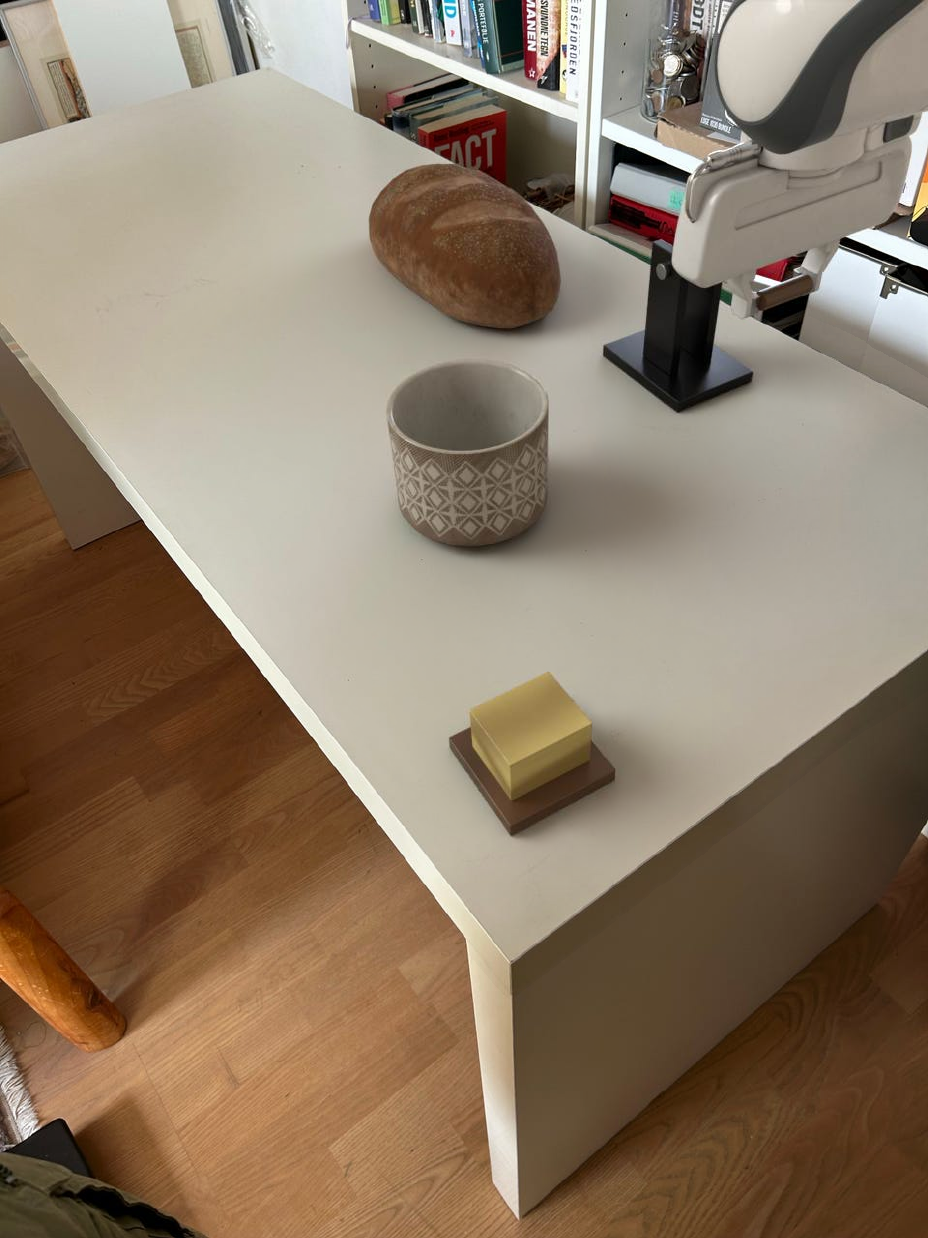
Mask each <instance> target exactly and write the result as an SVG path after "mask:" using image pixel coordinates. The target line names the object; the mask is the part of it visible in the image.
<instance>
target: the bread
mask: <svg viewBox="0 0 928 1238" xmlns="http://www.w3.org/2000/svg"><path fill="white" fill-rule="evenodd" d="M368 234H369V235H368V236H369V241H370V244H371V247H372V250H373V252H374V255H375V257H376V259H377V260H378V261H379V263H380V264H381V265H382V266H383V267H384V268H385V269H386V270H387V272H389V273H390V274H391V275H392V276H393V277H394V278H395V279H396V280H397V281H399V283H401V284H402V285H403V286H405V288H407V289H409V290H410V291H412V292H413V293H415V294H416V295H417V296H418V297H420V298H422V299H423V300H425V301H426V302H428V303H429V304H431V305H432V306H433V307H434V308H435V309H437V310H438V311H439V312H441V313H442V314H444V315H445V316H447V317H449V318H451V319H454V320H457V321H460V322H462V323H466V324H470V325H476V326H481V327H486V328H487V327H488V328H493V329H514V328H518V327H523V326H527V325H529V324H531V323H534V322H536V321H538V320H540V319H542V318H544V317H546V316H547V315H548V314H550V313H551V312H552V311H553V310H554V309H553V308H554V307H555V305H556V303H557V301H558V298H559V294H560V290H561V284H562V283H561V282H562V279H561V278H562V277H561V271H560V263H559V257H558V251H557V249H556V246H555V243H554V241H553V238H552V236H551V234H550V231H549V230H548V228H547V227H546V225H545V223H544V222H543V220H542V219H541V218H540V216H539V215H538V213H536V211H535V209H534V208H533V207H532V205H531V204H530V203H529V202H527V200H526V199H525V198H524V197H522V195H520V194H519V193H518V192H517V191H515V190H514V189H513V188H511V187H507V186H506V185H505V184H503V183H501V182H500V181H499V180H497V179H495V178H493V177H492V176H490V175H489V174H487V173H486V172H483V171H481V170H479V169H477V168H472V167H471V168H470V167H465V166H464V167H463V166H461V165H459V164H458V163H432V164H422V165H421V164H420V165H417V166H415V167H412V168H408V169H405V170H404V171H402V172H401V173H400V174H398V175H397V176H395V177H394V178H392V179H391V180H390V181H389V182H388V183H387V184H386V185H385V186H384V187H383V189H382V190H380V192H379V193H378V195H377V196H376V198H375V199H374V201H373V202H372V205H371V208H370V212H369V216H368Z"/></svg>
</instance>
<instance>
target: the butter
mask: <svg viewBox="0 0 928 1238" xmlns="http://www.w3.org/2000/svg"><path fill="white" fill-rule="evenodd" d="M469 721H470V722H469V723H470V727H467V728H465V729H464V730H463V729H462V730H461V731H459V732H457V733H455V734H453V735H451V736H449V737H448V744H449V749H450V751H451V752H452V754H453V755H454V756H455V758H456V759H457V761H458V763H460V765H461V766H462V768H463V769H464V771H465V773H466V774H467V776H469V778H470V779H471V781H472V782H473V784H474V786H476V788H477V790H478V791H479V792H480V794H481V796H482V797H483V798H484V800H485V801H486V803H487V804H488V806H489V807H490V808H491V810H492V811H493V813H494V814H495V816H496V818H498V820H499V822H500V823H501V824H502V826H503V827H504V828H505V830H506V832H507V833H508V834H509V836H510V837H512V836H515V835H516V834H518V833H519V832H521V831H523V830H525V829H527V828H529V827H531V826H532V825H534V824H536V823H538V822H540V821H542V820H545V818H548V817H549V816H551V815H553V814H554V813H556V812H558V811H561V810H562V809H564V808H566V807H568V806H569V805H571V804H573V803H575V802H577V801H579V800H581V799H582V798H585V797H586V796H588V795H590V794H592V793H594V792H595V791H598V790H599V789H602V788H603V787H605V786H606V785H608V784H610V783H612V782H614V781H615V780H616V773H617V769H616V768H615V767H614V765H613V764H612V763H611V762H610V761H609V760H608V758H607V757H606V756H605V755H604V753H603V752H602V751H601V750H600V749H599V748H598V746H597V745H596V744H595V742H593V740H592V734H593V733H592V731H593V723H592V721H591V720H590V719H589V718H588V717H587V715H586V713H584V712H583V710H582V709H581V708H580V707H579V706H578V705H577V703H576V702H575V701H574V700H573V698H571V696H570V695H569V693H568V692H567V691H566V690H565V689H564V688H563V687H562V686H561V684H560V683H559V682H558V681H557V679H556V678H555V676H553V675H552V673H551V672H550V671H546V672H544V673H541V674H540V675H537V676H536V677H534V678H532V679H530V680H528V681H526V682H524V683H522V684H520V685H517V686H516V687H514V688H512V689H511V688H510V689H509V690H508V691H505V692H503V693H501V694H499V695H497V696H495V697H493V698H491V699H489V700H487V701H484V702H483V703H480V704H479V705H477V706H474V707H472V708H471V709H469Z"/></svg>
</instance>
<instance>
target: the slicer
mask: <svg viewBox="0 0 928 1238" xmlns="http://www.w3.org/2000/svg"><path fill="white" fill-rule="evenodd" d="M672 252H673V245H672V244H670V243H668V242H667V241H665V240H663V239H662V238H660V239H658V240H655V241H652V244H651V254H650V255H651V257H650V266H649V278H648V279H649V280H648V289H647V290H648V291H647V301H646V312H645V313H646V314H645V325H644V329H643V330H640V331H637V332H634V333H632V334H629V335H627V336H624V337H622V338H619V339H616V340H614V341H611V342H608V343H605V344H603V347H602V356H603V357H604V358H605V359H607V361H609V362H610V363H612V364H613V365H614V366H615V367H616V368H618V369H620V370H621V371H622V372H623V373H625V374H626V375H627V376H629V378H631V379H632V380H634V381H635V382H636V383H638V384H639V385H641V386H642V387H643V388H644V389H645V390H647V392H649V393H651V394H652V395H653V396H655V397H656V398H657V399H658V400H660V401H661V402H662V403H664V404H665V405H667V406H668V407H669V408H670V409H671V410H672V411H674V412H675V413H681V412H682V411H685V410H688V409H690V408H692V407H694V406H697V405H700V404H702V403H704V402H707V401H709V400H711V399H714V398H716V397H719V396H721V395H723V394H726V393H728V392H731V391H733V390H736V389H739V388H741V387H743V386H745V385H748V384H750V383H753V379H754V378H753V377H754V372H755V371H754V370H752V369H751V368H749V367H748V366H746V365H745V364H743V363H742V362H740V361H739V360H737V359H736V358H735V357H733V356H732V355H730V354H728V353H727V352H725V351H724V350H723V349H721V347H718V346H717V345H716V344H715V338H716V329H717V323H718V317H719V310H720V305H721V303H720V302H721V297H722V289H723V288H722V287H723V284H724V282H721V283H718V284H716V285H713V286H710V287H707V288H701V287H699V286H696V285H695V284H693V283H691V282H689V281H688V280H686V279H685V278H683V277H681V276H680V275H679V274H678V273H677V272H676V270H675V269H674V267H673V265H672Z"/></svg>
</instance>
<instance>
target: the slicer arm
mask: <svg viewBox="0 0 928 1238" xmlns="http://www.w3.org/2000/svg"><path fill="white" fill-rule="evenodd" d="M723 284H727V282H726V281H724V282H723ZM749 284H750V287H751V290H752V291H753V292H756V293H758V294H760V295H761V302H760V305H759V312H763V311H766V310H768V309H771V308H774V307H776V306H778V305H781V304H784V303H787V302H789V301H792V300H795V299H797V298H800V297H803V296H802V295H804V296H806V295H805V294H807V293H810V292H811V291H812V289H813V280H812V278H811V276H810V275H808V274H803V275H800V276H797V277H795V278H793V277H792V278H790V279H787V280H783V281H782V282H781V281H778V280H776V279H775V280H774V279H772V278H768V277H766V276H762V275H758V274H756V276H755V279H754V280H753V281H749ZM810 294H811V293H810ZM807 295H808V294H807Z"/></svg>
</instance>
